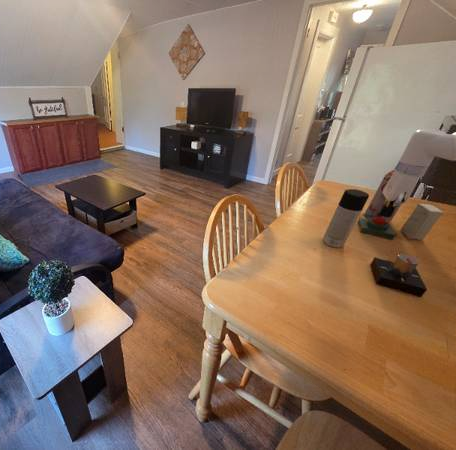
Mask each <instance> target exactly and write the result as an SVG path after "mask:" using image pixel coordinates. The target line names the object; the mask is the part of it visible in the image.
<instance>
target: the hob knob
mask: <svg viewBox="0 0 456 450" xmlns="http://www.w3.org/2000/svg"><path fill="white" fill-rule="evenodd" d="M392 262H393V264H392V265H391V267H390V268H389V269H390V271H391V272H392V273H394V274H396V275H398V276H401V277H408V276H409V275H410V274H411V273H412V271H413V270H414V269H415V268H417V266H418V265H419V264H420V263H419V262H420V261H419V260H418V259H417V258H416V257H414V256H412V255H410V254H407V253H406V254H405V253H400V254H398V255H397V256H396V258H395V259H394V261H392Z"/></svg>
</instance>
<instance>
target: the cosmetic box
mask: <svg viewBox="0 0 456 450" xmlns="http://www.w3.org/2000/svg"><path fill="white" fill-rule="evenodd" d="M444 213H445V211H442V210H440V208H438V207H436V206H435V205H433V204H431V203H428V204H427V203H418V204H417V205H416V207H415V208H414V209H413V211H412V212H411V214H410V215H409V216H408V218H407V219H406V221H405V222H404V223H403V225H402V227H401V228H400V231H401V233H402V234H404V235H405V236H406V237H407V238H408V239H409V240H418V241H423V240H424V239H425V237H426V236H427V235H428V233H429V232H430V231H431V230H432V229H433V227H434V226H435V225H436V224H437V222H438V221H439V220H440V218H441V217H442V216H443V214H444Z"/></svg>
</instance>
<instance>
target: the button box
mask: <svg viewBox="0 0 456 450" xmlns="http://www.w3.org/2000/svg"><path fill="white" fill-rule="evenodd" d="M373 220H374V218H368V219H367V218H363V217H358V219H357V225H358V228H359V232H360V233H361V234H365V235H370V236H374V237H379V238H382V239H386V240H391V241H394V240H395V238H396V236H397V234H396V232H395V230H394V229H393V226H392V224H391V223H390V222H387V221H386V223H385V225H381V224H377V223H375V222H373Z"/></svg>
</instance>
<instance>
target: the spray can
mask: <svg viewBox="0 0 456 450" xmlns="http://www.w3.org/2000/svg"><path fill="white" fill-rule="evenodd" d="M369 197H370V194H369V193H367V192H366V191H364V190H361V189H356V188H349V189H345V190H344V191H343V193H342V196H341V198H340V200H339V201H338V204H337V206H336V209H335V211H334V213H333V215H332V217H331V219H330V222H329V224H328V226H327V227H326V231H325V233H324V235H323V237H322V241H323V243H324V244H326V245H327V246H330V247H332V248H343V247H344V246H345V244H346V243H347V240H348V238H349V236H350V234H351V232H352V231H353V229H354V227H355V225H356V223H357V222H358V220H359V218H360V215H361V214H362V212H363V210H364V208H365V205H366V203H367V201H368V200H369Z"/></svg>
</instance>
